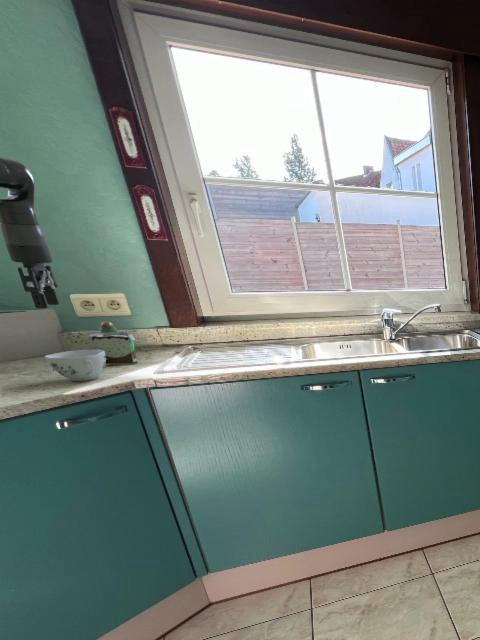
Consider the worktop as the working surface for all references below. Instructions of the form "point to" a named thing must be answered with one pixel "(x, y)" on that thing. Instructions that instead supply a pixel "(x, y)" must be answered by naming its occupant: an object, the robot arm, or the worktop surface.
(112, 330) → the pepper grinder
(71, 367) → the teacup
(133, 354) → the food container
